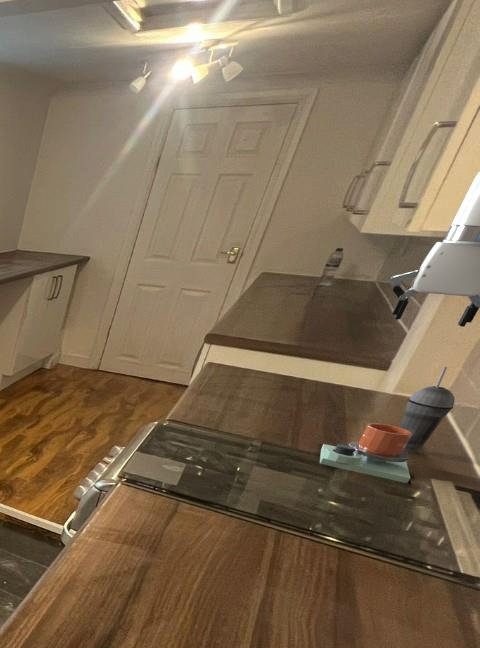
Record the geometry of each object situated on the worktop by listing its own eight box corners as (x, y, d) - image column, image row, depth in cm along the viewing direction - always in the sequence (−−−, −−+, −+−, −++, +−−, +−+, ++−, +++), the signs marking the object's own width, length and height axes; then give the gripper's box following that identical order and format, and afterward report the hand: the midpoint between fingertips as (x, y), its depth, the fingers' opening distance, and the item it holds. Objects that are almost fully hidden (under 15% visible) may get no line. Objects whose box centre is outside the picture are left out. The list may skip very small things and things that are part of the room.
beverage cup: (397, 453, 137) (443, 370, 128) (376, 442, 143) (418, 362, 134) (434, 457, 135) (483, 373, 126) (411, 445, 142) (456, 365, 133)
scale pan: (398, 465, 130) (407, 450, 128) (401, 478, 123) (410, 462, 122) (341, 453, 136) (349, 438, 134) (341, 465, 129) (349, 449, 128)
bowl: (399, 450, 128) (410, 429, 126) (401, 459, 124) (413, 437, 121) (356, 441, 132) (367, 420, 130) (356, 449, 128) (367, 428, 126)
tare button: (351, 453, 128) (355, 446, 128) (352, 457, 126) (355, 450, 126) (334, 450, 130) (337, 442, 130) (333, 453, 128) (337, 446, 128)
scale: (403, 467, 129) (410, 454, 128) (407, 484, 121) (414, 471, 120) (320, 449, 138) (326, 437, 136) (319, 464, 129) (325, 452, 128)
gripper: (534, 238, 114) (485, 326, 121) (411, 233, 124) (372, 314, 132) (543, 239, 109) (491, 331, 116) (413, 234, 119) (373, 318, 127)
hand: (428, 322), depth 124 cm, fingers open, 9 cm apart
